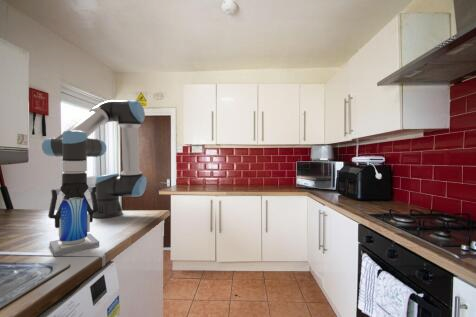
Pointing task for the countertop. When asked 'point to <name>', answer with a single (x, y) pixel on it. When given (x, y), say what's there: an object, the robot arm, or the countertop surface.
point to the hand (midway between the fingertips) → (74, 233)
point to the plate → (73, 245)
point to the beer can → (73, 220)
